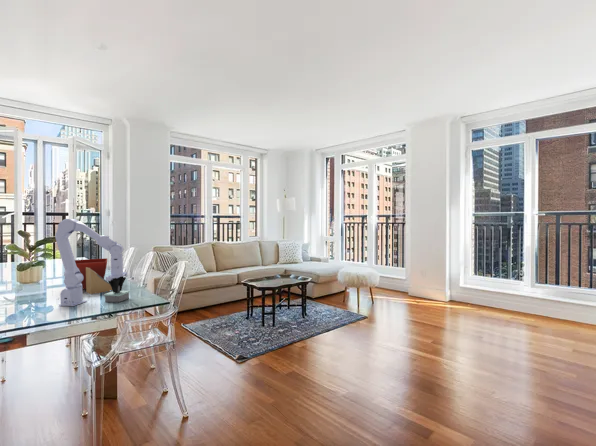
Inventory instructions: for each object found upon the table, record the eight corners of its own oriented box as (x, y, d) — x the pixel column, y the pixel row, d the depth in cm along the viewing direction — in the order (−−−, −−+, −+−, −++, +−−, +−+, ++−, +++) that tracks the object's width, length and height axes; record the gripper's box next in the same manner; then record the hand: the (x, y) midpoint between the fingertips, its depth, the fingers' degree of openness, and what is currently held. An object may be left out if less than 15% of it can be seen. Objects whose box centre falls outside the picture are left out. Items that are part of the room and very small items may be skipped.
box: (119, 302, 174) (119, 296, 174) (105, 302, 175) (105, 295, 175) (128, 298, 182) (128, 292, 182) (115, 298, 183) (115, 291, 183)
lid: (119, 297, 173) (119, 288, 173) (104, 296, 174) (104, 287, 174) (129, 293, 182) (129, 284, 182) (115, 292, 183) (115, 284, 183)
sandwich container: (119, 290, 203) (118, 265, 202) (90, 294, 192) (90, 268, 191) (114, 287, 209) (113, 264, 208) (86, 292, 197) (85, 267, 197)
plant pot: (73, 285, 213) (73, 259, 213) (107, 282, 222) (107, 258, 222) (69, 292, 196) (69, 263, 196) (106, 288, 205) (106, 261, 205)
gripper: (114, 269, 170) (114, 295, 170) (132, 264, 184) (132, 288, 185) (101, 268, 171) (102, 294, 171) (120, 264, 185) (120, 288, 186)
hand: (117, 291), depth 178 cm, fingers closed on lid, 3 cm apart
